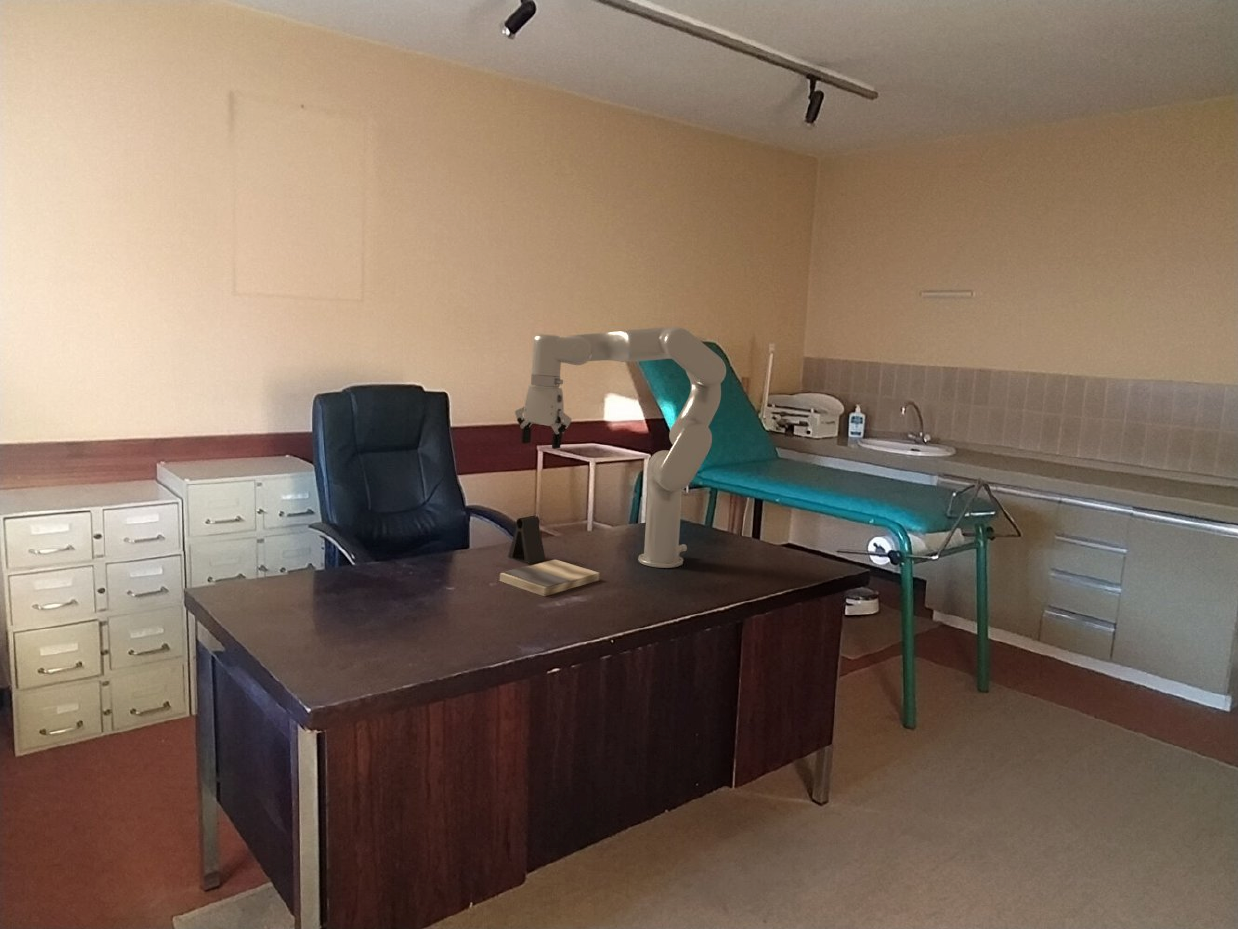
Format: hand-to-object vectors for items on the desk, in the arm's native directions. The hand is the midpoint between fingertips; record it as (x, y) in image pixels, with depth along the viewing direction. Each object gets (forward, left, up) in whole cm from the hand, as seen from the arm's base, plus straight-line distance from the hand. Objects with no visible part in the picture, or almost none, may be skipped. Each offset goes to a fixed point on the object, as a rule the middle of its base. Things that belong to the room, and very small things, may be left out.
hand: (540, 445), depth 239 cm
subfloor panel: (+8, +13, -33) cm, 36 cm away
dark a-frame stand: (-1, -5, -33) cm, 33 cm away
